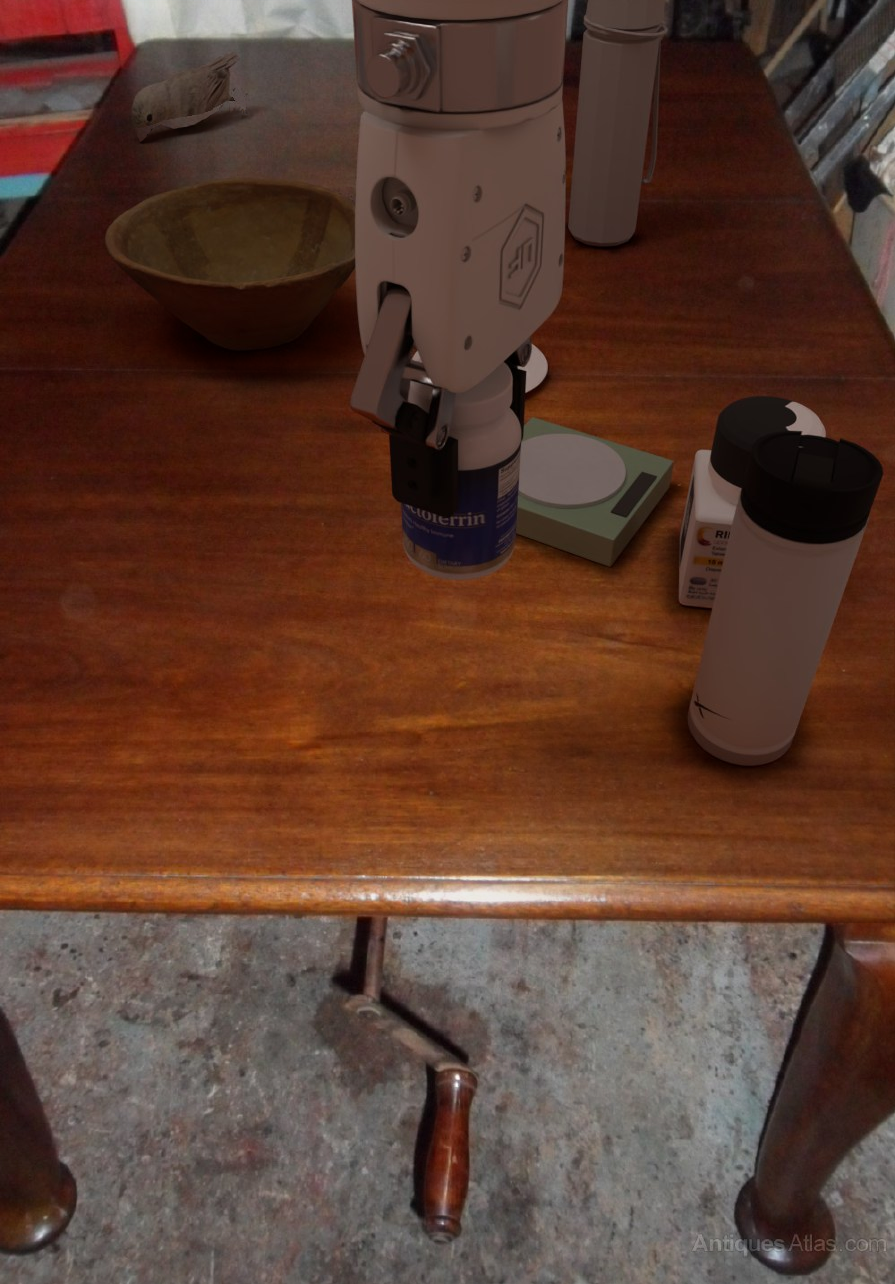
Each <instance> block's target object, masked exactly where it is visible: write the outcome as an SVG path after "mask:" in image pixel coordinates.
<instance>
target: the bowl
mask: <svg viewBox="0 0 895 1284" xmlns="http://www.w3.org/2000/svg"><path fill="white" fill-rule="evenodd" d="M104 245H105V248H106V250H107V252H108V254H109V256H110V258H111V259H112V260H113V262H114V263H115V264H116V265H117V266H118V267H119V268H120V269H121V270H122V271H123V272H124V273H125V274H126V275H127V276H128V277H129V278H131V279H132V280H133V281H134V282H135V283H136V284H137V285H138V286H140V287H141V288H142V290H144V291H145V292H147V293H148V294H149V295H150V296H151V297H153V298H154V299H155V300H156V301H157V302H158V303H159V304H160V305H161V306H162V307H163V308H165V309H166V310H167V311H168V312H169V313H171V314H172V315H173V316H174V317H176V318H177V319H178V320H180V321H181V322H182V323H184V324H186V325H187V326H188V327H190V328H191V329H192V330H194V331H195V332H197V333H198V334H200V335H201V336H203V337H204V338H205V339H206V340H207V341H209V342H210V343H212V344H214V345H215V346H217V347H220V348H223V349H226V350H231V351H239V352H241V351H242V352H243V351H244V352H245V351H255V350H265V349H269V348H274V347H279V346H281V345H285V344H288V343H291V342H294V341H295V340H297V339H298V338H300V336H302V334H303V333H305V331H306V330H307V329H308V328H309V327H310V325H311V324H312V323H313V321H314V320H315V319H316V318H317V317H318V316H319V314H320V313H321V312H322V311H323V309H324V308H325V307H326V305H327V304H329V302H330V301H331V300H332V298H333V297H334V296H335V294H336V293H337V291H338V290H339V289H340V288H341V287H342V286H343V285H344V284H345V282H346V281H347V280H348V279H349V278H350V276H351V275H352V273H353V272H354V270H356V269H355V203H354V202H352V201H351V200H350V199H349V198H348V197H346V196H345V195H344V194H341V193H339V192H336V191H333V190H332V189H329V188H326V187H323V186H319V185H316V184H311V183H307V182H303V181H298V180H290V179H277V178H275V179H274V178H255V177H254V178H253V177H226V178H220V179H213V180H211V179H210V180H205V181H200V182H197V183H193V184H190V185H187V186H183V187H179V188H175V189H172V190H168V191H165V192H161V193H158V194H156V195H152V196H150V197H148V198H147V199H144V200H142V201H140V202H139V203H138V204H136V205H134V206H133V207H131V208H129V209H128V210H125V211H124V212H123V213H122V214H120V215H118V216H117V217H116V218H115V219H114V220H113V222H112V223H111V224H110V225H109V226H108V228H107V229H106V232H105V237H104Z"/></svg>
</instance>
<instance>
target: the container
mask: <svg viewBox="0 0 895 1284" xmlns="http://www.w3.org/2000/svg"><path fill="white" fill-rule="evenodd" d="M779 431H802V434H801V435H815V436H821V437H827V433H826V432H827V431H826V427H825V426H824V424H823V422H822V421H821V419H820V417H819V416H818V415H817V414H816V413H815V412H814V411H813V410H811V409H810V408H808V407H807V406H805V405H804V404H801V403H799V402H797V401H794V400H791V399H788V398H783V397H779V396H769V395H754V396H747V397H743V398H740V399H737V400H735V401H733V402H732V403H730V404H729V405H727V406H726V407H725V408H723V409H722V410H721V411H720V412H719V415H718V416H717V421H716V426H715V430H714V436H713V441H712V445H711V450H710V449H698V450H697V451H696V453H695V455H694V460H693V465H692V470H691V475H690V482H689V486H688V491H687V495H686V502H685V507H684V511H683V516H682V517H683V518H682V523H681V526H680V527H681V528H680V534H679V566H678V572H679V573H678V602H679V603H680V604H681V605H683V606H688V607H699V608H705V609H712V608H713V604H714V600H715V596H716V591H717V587H718V583H719V578H720V574H721V570H722V566H723V561H724V557H725V553H726V548H727V544H728V540H729V536H730V531H731V527H732V523H733V519H734V514H735V510H736V506H737V504H738V497H739V493H740V490H741V488H742V485H743V482H744V479H745V472H746V468H747V464H748V459H749V455H750V451H751V447H752V446H753V444H754V442H756V441H757V440H758V439H759V438H761V437H763V436H765V435H767V434H770V433H774V432H779Z"/></svg>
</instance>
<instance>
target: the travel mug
mask: <svg viewBox="0 0 895 1284" xmlns="http://www.w3.org/2000/svg"><path fill="white" fill-rule="evenodd" d="M801 434H802V431H779V432H774V433H770V434H767V435H765V436H763V437H761V438H759V439H758V440H757V441H756V442H754V444H753V446H752V447H751V451H750V455H749V459H748V464H747V468H746V472H745V479H744V482H743V485H742V488H741V490H740V493H739V497H738V504H737V506H736V510H735V514H734V519H733V523H732V527H731V531H730V536H729V540H728V544H727V548H726V553H725V557H724V561H723V566H722V570H721V574H720V578H719V583H718V587H717V591H716V596H715V600H714V604H713V608H711V613H710V618H709V621H708V626H707V630H706V634H705V639H704V643H703V647H702V651H701V657H700V660H699V664H698V669H697V673H696V678H695V680H694V681H695V682H694V686H693V690H692V696H691V699H690V702H689V707H688V711H687V726H688V729H689V731H690V734H691V736H692V737H693V739H694V740H695V742H696V743H697V744H698V745H699V746H700V747H701V748H702V749H703V750H704V751H705V752H706V753H709V754H710V755H711V756H713V757H715V758H717V759H719V760H721V761H724V762H726V763H728V764H733V765H738V766H747V767H749V766H750V767H753V766H762V765H765V764H769V763H772V762H775V761H776V760H778V759H780V758H781V757H782V756H783V755H785V754H787V752H788V751H789V749H790V748H791V746H792V743H793V740H794V737H795V735H796V731H797V728H798V726H799V722H800V720H801V717H802V714H803V711H804V708H805V706H806V703H807V700H808V697H809V694H810V691H811V688H812V686H813V682H814V679H815V677H816V673H817V671H818V668H819V665H820V662H821V659H822V657H823V654H824V650H825V648H826V644H827V642H828V640H829V636H830V633H831V630H832V628H833V624H834V621H835V620H836V619H835V618H836V616H837V613H838V610H839V608H840V604H841V601H842V598H843V595H844V593H845V590H846V587H847V584H848V581H849V578H850V575H851V572H852V570H853V567H854V564H855V560H856V558H857V555H858V552H859V549H860V546H861V543H862V541H863V538H864V535H865V531H866V529H867V526H868V523H869V520H870V515H871V510H872V508H873V506H874V502H875V499H876V497H877V493H878V491H879V487H880V485H881V481H882V479H883V476H884V468H883V465H882V464H881V462H880V460H879V459H878V458H877V457H876V456H875V455H874V454H873V453H872V452H871V451H869V450H868V449H867V448H865V447H863V446H861V445H860V444H857V443H855V442H852V441H850V440H847V439H844V438H841V437H840V438H839V440H836V439H834V438H829V437H827V436H825V437H821V436H815V435H801Z"/></svg>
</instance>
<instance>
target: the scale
mask: <svg viewBox="0 0 895 1284" xmlns="http://www.w3.org/2000/svg"><path fill="white" fill-rule="evenodd" d="M674 464H675V461H674V460H672V459H669V458H666V457H663V456H659V455H657V454H654V453H650V452H647V451H644V450H641V449H638V448H634V447H631V446H628V445H625V444H621V443H618V442H614V441H612V440H609V439H605V438H602V437H599V436H595V435H592V434H589V433H587V432H583V431H579V430H576V429H574V428H569V427H566V426H563V425H560V424H557V423H554V422H552V421H551V422H550V421H547V420H545V419H541V418H538V417H534V416H532V417H531V418H530V419H528V421H526V423H524V433H523V440H522V441H521V455H520V472H519V490H518V507H517V525H516V535H519V536H522V537H525V538H528V539H530V540H533V541H536V542H538V543H542V544H544V545H547V546H550V547H552V548H556V549H558V550H561V551H564V552H566V553H570V554H572V555H575V556H577V557H581V558H584V559H586V560H589V561H592V562H594V563H598V564H600V565H602V566H605V567H608V568H611V567H612V566H613V565H614V563H615V562H616V560H617V559H618V558H619V556H620V555H621V553H622V552H623V551H624V549H626V547H627V545H628V544H629V543H630V541H631V540H632V538H633V537H634V536H635V535H636V533H637V532H638V530H639V529H640V528H641V526H642V525H643V524H644V523H645V521H646V519H647V518H648V517H649V516H650V514H651V513H652V511H653V510H654V509H655V507H656V506H657V505H658V504H659V502H660V500H661V499H662V498H663V497H664V495H665V494H666V493H667V492H668V490H669V488H670V487H671V480H672V474H673V470H674Z"/></svg>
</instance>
